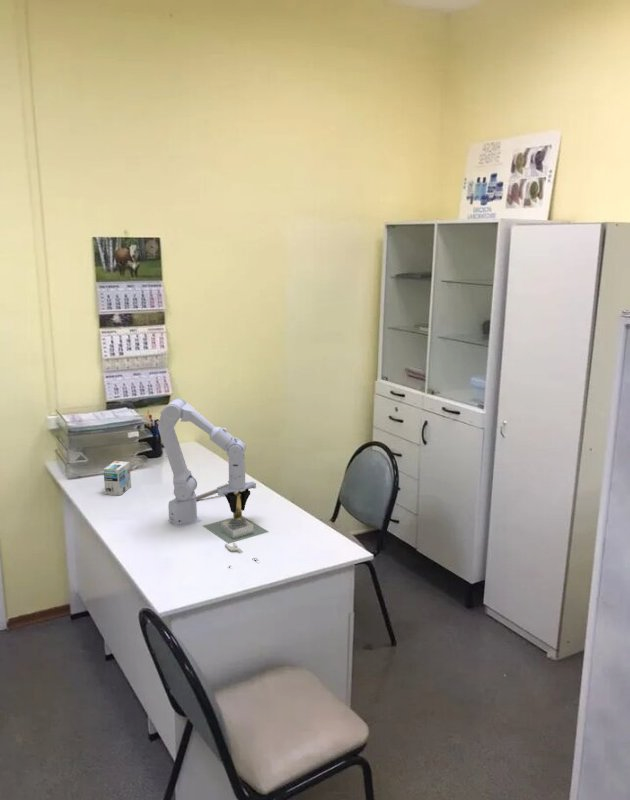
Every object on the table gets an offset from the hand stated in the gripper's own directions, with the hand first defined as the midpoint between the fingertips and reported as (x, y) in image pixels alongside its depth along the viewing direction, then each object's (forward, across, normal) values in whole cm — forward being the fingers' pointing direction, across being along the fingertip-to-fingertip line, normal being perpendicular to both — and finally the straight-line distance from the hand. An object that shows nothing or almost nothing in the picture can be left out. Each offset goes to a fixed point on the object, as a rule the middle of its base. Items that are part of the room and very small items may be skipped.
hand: (237, 510), depth 242 cm
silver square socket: (+4, -5, -8) cm, 10 cm away
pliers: (+5, -14, -23) cm, 27 cm away
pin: (+2, 0, 0) cm, 2 cm away
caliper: (+5, +4, +27) cm, 28 cm away
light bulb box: (+5, -22, +56) cm, 60 cm away
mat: (+4, -4, -5) cm, 8 cm away
